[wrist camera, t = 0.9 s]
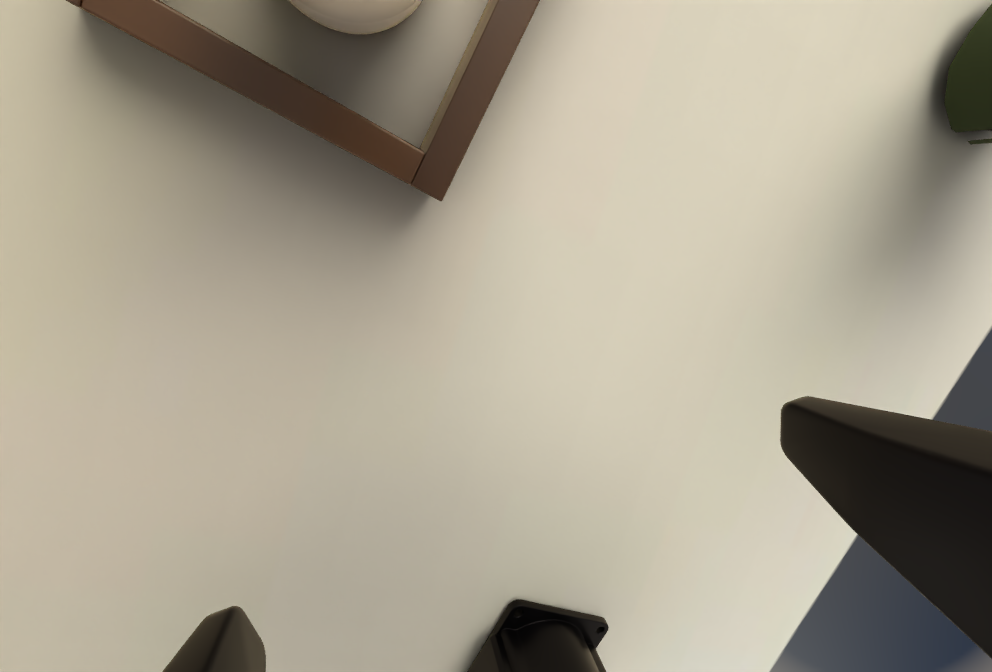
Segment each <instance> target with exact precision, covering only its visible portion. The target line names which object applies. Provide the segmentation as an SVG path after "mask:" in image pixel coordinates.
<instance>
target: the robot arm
mask: <svg viewBox="0 0 992 672" xmlns="http://www.w3.org/2000/svg"><path fill="white" fill-rule="evenodd" d="M780 442H781V447H782V449H783V452H784V453H785V455H786V456H787V458H788V459H789V460H790V461H791V462H792V463H793V464H794V466H795V467H796V468H797V469H798V470H799V471H800V472H801V473H802V474H803V476H804V477H805V478H806V479H807V480H808V481H809V482H810V483H811V484H812V485H813V487H814V488H815V489H816V490H817V491H818V492H819V493H820V494H821V495H822V497H823V498H824V499H825V500H826V501H827V502H828V503H829V504H830V505H831V506H832V508H833V509H834V510H835V511H836V512H837V513H838V514H839V515H840V516H841V518H842V519H843V520H844V521H845V522H846V523H847V524H848V525H849V526H850V527H851V528H852V529H853V530H854V531H855V532H856V533H857V534H858V535H859V536H860V537H861V538H862V539H863V540H864V541H865V542H866V543H867V544H868V545H870V546H871V547H872V548H873V549H874V550H875V551H876V552H877V553H878V554H879V555H880V556H882V557H883V558H884V559H885V560H886V561H887V562H888V563H889V564H890V565H891V566H892V567H893V568H894V569H896V571H898V572H899V573H900V574H901V575H902V576H903V577H904V578H905V579H906V580H907V581H908V582H909V583H910V584H912V585H913V586H914V587H915V588H916V589H917V590H918V591H919V592H920V593H921V594H922V595H923V596H924V597H926V598H927V599H928V600H929V601H930V602H931V603H932V604H933V605H934V606H935V607H936V608H937V609H938V610H940V611H941V612H942V613H943V614H944V615H945V616H946V617H947V618H948V619H949V620H950V621H952V622H953V623H954V624H955V625H956V626H957V627H958V628H959V629H960V630H961V631H962V632H964V634H966V635H967V636H968V637H969V638H970V639H971V640H972V641H973V642H974V643H975V644H976V645H977V646H978V647H979V648H980V649H982V650H983V651H984V652H985V653H986V654H987V655H988V656H989V657H990V658H991V659H992V431H988V430H982V429H977V428H971V427H967V426H961V425H956V424H951V423H946V422H941V421H935V420H930V419H925V418H920V417H914V416H909V415H904V414H899V413H894V412H888V411H883V410H878V409H873V408H867V407H862V406H857V405H852V404H846V403H841V402H836V401H831V400H826V399H820V398H815V397H809V396H805V397H801V398H798V399H795V400H793V401H790V402H787V403H786V404H784V405H783V407H782V409H781V437H780ZM607 631H608V625H607V623H606V621H605V619H604V618H602V617H598V616H594V615H589V614H584V613H580V612H575V611H571V610H566V609H561V608H557V607H552V606H547V605H543V604H538V603H534V602H529V601H524V600H515V601H513V602H511V603H510V604H509V605H508V607H507V608H506V610H505V612H504V613H503V615H502V616H501V618H500V620H499V621H498V623H497V625H496V626H495V628H494V629H493V631H492V633H491V634H490V636H489V637H488V639H487V641H486V642H485V644H484V646H483V647H482V649H481V650H480V652H479V654H478V655H477V657H476V658H475V660H474V662H473V663H472V665H471V667H470V668H469V670H468V671H467V672H606V670H605V668H604V666H603V664H602V662H601V660H600V658H599V655H598V653H597V651H596V647H597V646H598V644H599V643H600V641H601V640H602V638H603V637H604V635H605V634H606V632H607ZM163 672H266V654H265V648H264V645H263V642H262V640H261V638H260V637H259V635H258V633H257V632H256V630H255V628H254V627H253V625H252V624H251V622H250V620H249V619H248V617H247V616H246V614H245V612H244V611H243V610H242V609H241V608H240V607H238V606H232V607H229V608H226V609H224V610H221V611H218V612H215V613H213V614H210V615H209V616H207V617H206V618H205V619H204V620H203V621H202V622H201V623H200V625H199V626H198V627H197V628H196V630H195V631H194V632H193V633H192V635H191V636H190V637H189V639H188V640H187V641H186V642H185V644H184V645H183V646H182V647H181V649H180V650H179V651H178V653H177V654H176V655H175V656H174V658H173V659H172V660H171V662H170V663H169V664H168V665H167V667H166V668H165V669H164V670H163Z"/></svg>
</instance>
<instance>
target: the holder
mask: <svg viewBox="0 0 992 672" xmlns="http://www.w3.org/2000/svg"><path fill="white" fill-rule="evenodd" d="M66 1H68V2H70V3H71V4H73V5H75V6H77V7H79V8H81V9H83V10H85V11H86V12H88V13H90V14H92V15H94V16H96V17H98V18H100V19H101V20H103V21H105V22H107V23H109V24H111V25H113V26H114V27H116V28H118V29H120V30H122V31H124V32H126V33H128V34H129V35H131V36H133V37H135V38H137V39H139V40H141V41H142V42H144V43H146V44H148V45H150V46H152V47H154V48H156V49H157V50H159V51H161V52H163V53H165V54H167V55H169V56H170V57H172V58H174V59H176V60H178V61H180V62H182V63H184V64H185V65H187V66H189V67H191V68H193V69H195V70H197V71H198V72H200V73H202V74H204V75H206V76H208V77H210V78H212V79H213V80H215V81H217V82H219V83H221V84H223V85H225V86H226V87H228V88H230V89H232V90H234V91H236V92H238V93H240V94H241V95H243V96H245V97H247V98H249V99H251V100H253V101H254V102H256V103H258V104H260V105H262V106H264V107H266V108H268V109H269V110H271V111H273V112H275V113H277V114H279V115H281V116H282V117H284V118H286V119H288V120H290V121H292V122H294V123H296V124H297V125H299V126H301V127H303V128H305V129H307V130H309V131H310V132H312V133H314V134H316V135H318V136H320V137H322V138H324V139H325V140H327V141H329V142H331V143H333V144H335V145H337V146H338V147H340V148H342V149H344V150H346V151H348V152H350V153H352V154H353V155H355V156H357V157H359V158H361V159H363V160H365V161H366V162H368V163H370V164H372V165H374V166H376V167H378V168H380V169H381V170H383V171H385V172H387V173H389V174H391V175H393V176H394V177H396V178H398V179H400V180H402V181H404V182H406V183H408V184H410V185H411V186H413V187H415V188H417V189H419V190H421V191H422V192H424V193H426V194H428V195H430V196H432V197H434V198H435V199H437V200H439V201H442V200H443V198H444V196H445V194H446V192H447V190H448V188H449V186H450V184H451V182H452V180H453V178H454V176H455V174H456V171H457V169H458V167H459V165H460V163H461V161H462V159H463V157H464V155H465V153H466V151H467V149H468V147H469V145H470V143H471V141H472V139H473V137H474V135H475V133H476V130H477V128H478V126H479V124H480V122H481V120H482V118H483V116H484V114H485V112H486V110H487V108H488V106H489V104H490V102H491V100H492V98H493V96H494V94H495V91H496V89H497V87H498V85H499V83H500V81H501V79H502V77H503V75H504V73H505V71H506V69H507V67H508V65H509V63H510V61H511V59H512V57H513V55H514V52H515V50H516V48H517V46H518V44H519V42H520V40H521V38H522V36H523V34H524V32H525V30H526V28H527V26H528V24H529V22H530V20H531V18H532V16H533V14H534V11H535V9H536V7H537V5H538V3H539V1H540V0H489V1H488V3H487V5H486V8H485V10H484V12H483V14H482V16H481V18H480V20H479V23H478V25H477V27H476V29H475V31H474V33H473V35H472V38H471V40H470V42H469V44H468V46H467V48H466V50H465V52H464V55H463V57H462V59H461V61H460V63H459V65H458V67H457V70H456V72H455V74H454V76H453V78H452V80H451V82H450V85H449V87H448V89H447V91H446V93H445V95H444V97H443V100H442V102H441V104H440V106H439V108H438V110H437V112H436V114H435V117H434V119H433V121H432V123H431V125H430V127H429V129H428V132H427V134H426V136H425V138H424V140H423V142H422V144H421V147H420V149H419V148H417V147H415V146H413V145H412V144H410V143H408V142H406V141H405V140H403V139H401V138H399V137H398V136H396V135H394V134H392V133H391V132H389V131H387V130H385V129H384V128H382V127H380V126H378V125H377V124H375V123H373V122H371V121H369V120H368V119H366V118H364V117H362V116H361V115H359V114H357V113H355V112H354V111H352V110H350V109H348V108H347V107H345V106H343V105H341V104H340V103H338V102H336V101H334V100H333V99H331V98H329V97H327V96H326V95H324V94H322V93H320V92H319V91H317V90H315V89H313V88H312V87H310V86H308V85H306V84H305V83H303V82H301V81H299V80H298V79H296V78H294V77H292V76H290V75H289V74H287V73H285V72H283V71H282V70H280V69H278V68H276V67H275V66H273V65H271V64H269V63H268V62H266V61H264V60H262V59H261V58H259V57H257V56H255V55H254V54H252V53H250V52H248V51H247V50H245V49H243V48H241V47H240V46H238V45H236V44H234V43H233V42H231V41H229V40H227V39H226V38H224V37H222V36H220V35H218V34H217V33H215V32H213V31H211V30H210V29H208V28H206V27H204V26H203V25H201V24H199V23H197V22H196V21H194V20H192V19H190V18H189V17H187V16H185V15H183V14H182V13H180V12H178V11H176V10H175V9H173V8H171V7H169V6H168V5H166V4H164V3H162V2H161V1H159V0H66Z"/></svg>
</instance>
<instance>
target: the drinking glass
mask: <svg viewBox="0 0 992 672" xmlns="http://www.w3.org/2000/svg"><path fill="white" fill-rule="evenodd" d="M288 1H289V2H290V3H291V4H292V5H293V6H295V7H296V8H297V9H298V10H299V11H300V12H302V13H303V14H305V15H306V16H307V17H309V18H310V19H312V20H314V21H315V22H317V23H319V24H321V25H323V26H325V27H327V28H330V29H333V30H336V31H339V32H343V33H349V34H372V33H377V32H381V31H384V30H387V29H389V28H392V27H394V26H396V25H397V24H399V23H401V22H402V21H403V20H405V19H406V18H407V17H409V16H410V15H411V14H412V13H413V12H414V11H415V10H416V8H417V7H418V6H419V5H420V3H421V2H422V1H423V0H288Z"/></svg>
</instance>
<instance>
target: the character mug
mask: <svg viewBox="0 0 992 672" xmlns="http://www.w3.org/2000/svg"><path fill="white" fill-rule="evenodd" d="M944 103H945V107H946V111H947V115H948V118H949V122H950V126H951V129H952V130H954V131H955V132H964V131H976V130H991V131H992V4H991V6H990V7H989V8H988V9H987V10H986V12H985V13H984V14H983V15H982V17H981V18H980V19H979V20H978V22H977V23H976V24H975V25H974V27H973V28H972V29H971V31H970V32H969V34H968V36H967V37H966V39H965V41H964V43H963V44H962V46H961V48H960V50H959V51H958V53H957V55H956V56H955V58H954V60H953V62H952V63H951V65H950V67H949V72H948V79H947V87H946V94H945V102H944ZM968 142H969V143H970V144H982V143H992V138H991V139H981V140H971V141H968Z"/></svg>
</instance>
